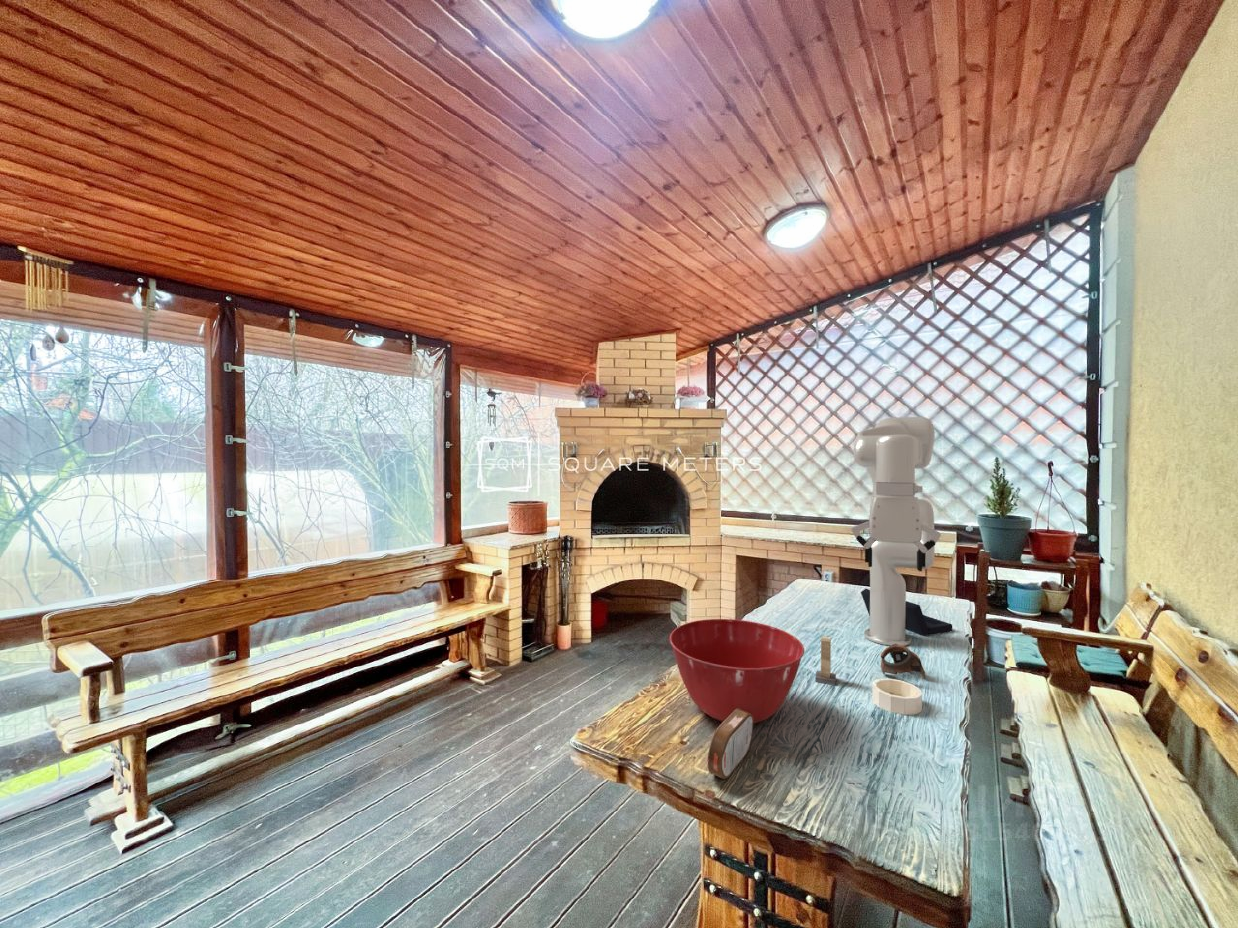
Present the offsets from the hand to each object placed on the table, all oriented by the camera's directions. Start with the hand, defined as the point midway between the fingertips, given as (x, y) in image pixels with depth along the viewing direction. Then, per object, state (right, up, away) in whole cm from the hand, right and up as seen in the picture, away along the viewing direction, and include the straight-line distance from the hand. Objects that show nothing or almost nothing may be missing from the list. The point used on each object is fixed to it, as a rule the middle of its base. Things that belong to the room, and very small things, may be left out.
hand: (894, 567), depth 113 cm
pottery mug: (+12, -31, +17) cm, 37 cm away
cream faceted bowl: (+1, -31, +1) cm, 31 cm away
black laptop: (+33, -30, +54) cm, 70 cm away
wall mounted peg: (-10, -30, +13) cm, 34 cm away
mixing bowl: (-36, -31, -1) cm, 47 cm away
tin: (-41, -31, -21) cm, 55 cm away
